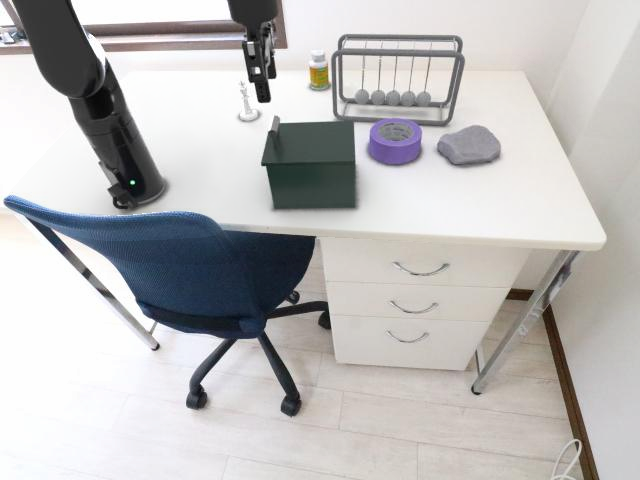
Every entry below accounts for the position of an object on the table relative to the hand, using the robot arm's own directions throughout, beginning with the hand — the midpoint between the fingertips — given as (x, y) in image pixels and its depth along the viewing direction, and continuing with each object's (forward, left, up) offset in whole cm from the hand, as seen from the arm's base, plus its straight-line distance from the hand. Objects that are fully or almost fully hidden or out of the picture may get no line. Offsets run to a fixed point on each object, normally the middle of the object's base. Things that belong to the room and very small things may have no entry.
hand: (268, 89), depth 65 cm
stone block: (+33, -28, -22) cm, 48 cm away
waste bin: (+4, -6, -22) cm, 23 cm away
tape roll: (+25, -13, -22) cm, 36 cm away
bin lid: (+4, -5, -11) cm, 13 cm away
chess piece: (+17, +28, -22) cm, 40 cm away
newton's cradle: (+39, -4, -22) cm, 45 cm away
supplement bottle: (+41, +22, -22) cm, 51 cm away
